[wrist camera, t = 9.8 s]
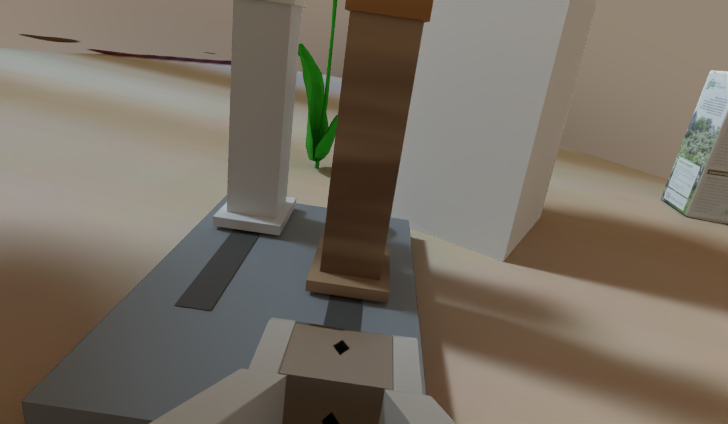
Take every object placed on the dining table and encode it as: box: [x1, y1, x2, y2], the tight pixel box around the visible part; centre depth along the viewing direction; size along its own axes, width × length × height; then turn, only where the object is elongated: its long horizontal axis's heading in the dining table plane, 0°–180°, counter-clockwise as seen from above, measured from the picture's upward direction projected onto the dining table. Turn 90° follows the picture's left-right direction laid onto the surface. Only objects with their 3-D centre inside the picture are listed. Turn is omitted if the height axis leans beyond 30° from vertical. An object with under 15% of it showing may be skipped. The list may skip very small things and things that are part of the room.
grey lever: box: [213, 0, 306, 236], centre depth 27 cm, size 5×4×14 cm
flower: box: [298, 0, 338, 168], centre depth 41 cm, size 9×8×30 cm
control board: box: [22, 196, 426, 424], centre depth 24 cm, size 20×13×2 cm, turn 177°
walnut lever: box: [305, 0, 433, 303], centre depth 22 cm, size 5×4×14 cm
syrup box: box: [661, 70, 728, 224], centre depth 48 cm, size 6×6×14 cm
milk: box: [391, 0, 597, 262], centre depth 35 cm, size 12×12×26 cm
